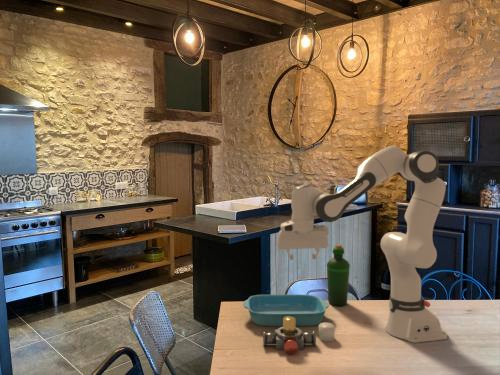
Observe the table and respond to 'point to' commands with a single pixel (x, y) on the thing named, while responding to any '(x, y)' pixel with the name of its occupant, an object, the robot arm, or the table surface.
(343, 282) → the bottle
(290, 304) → the casserole dish
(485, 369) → the table surface
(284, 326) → the brass coupling
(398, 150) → the robot arm
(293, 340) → the valve body
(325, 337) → the cream pebble-shaped knob
